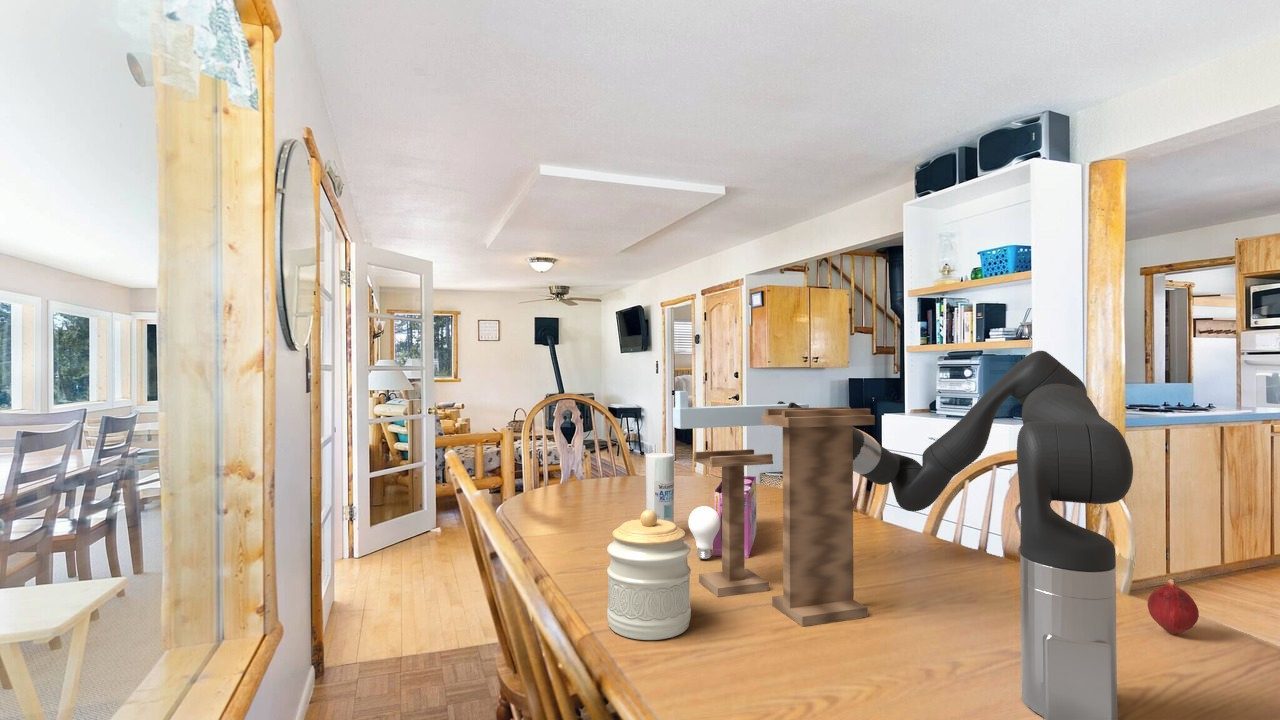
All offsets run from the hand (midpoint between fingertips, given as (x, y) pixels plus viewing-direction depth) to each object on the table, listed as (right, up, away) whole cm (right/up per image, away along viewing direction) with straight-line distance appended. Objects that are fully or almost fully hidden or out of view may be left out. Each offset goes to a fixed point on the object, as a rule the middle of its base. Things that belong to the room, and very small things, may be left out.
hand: (783, 406), depth 118 cm
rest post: (-10, -32, -4) cm, 34 cm away
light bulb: (-14, -33, +12) cm, 38 cm away
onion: (+52, -32, -25) cm, 66 cm away
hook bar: (-8, -3, -3) cm, 9 cm away
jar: (-26, -32, -21) cm, 46 cm away
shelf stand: (+2, -32, -16) cm, 36 cm away
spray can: (-22, -33, +25) cm, 47 cm away
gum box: (-5, -33, +25) cm, 42 cm away
